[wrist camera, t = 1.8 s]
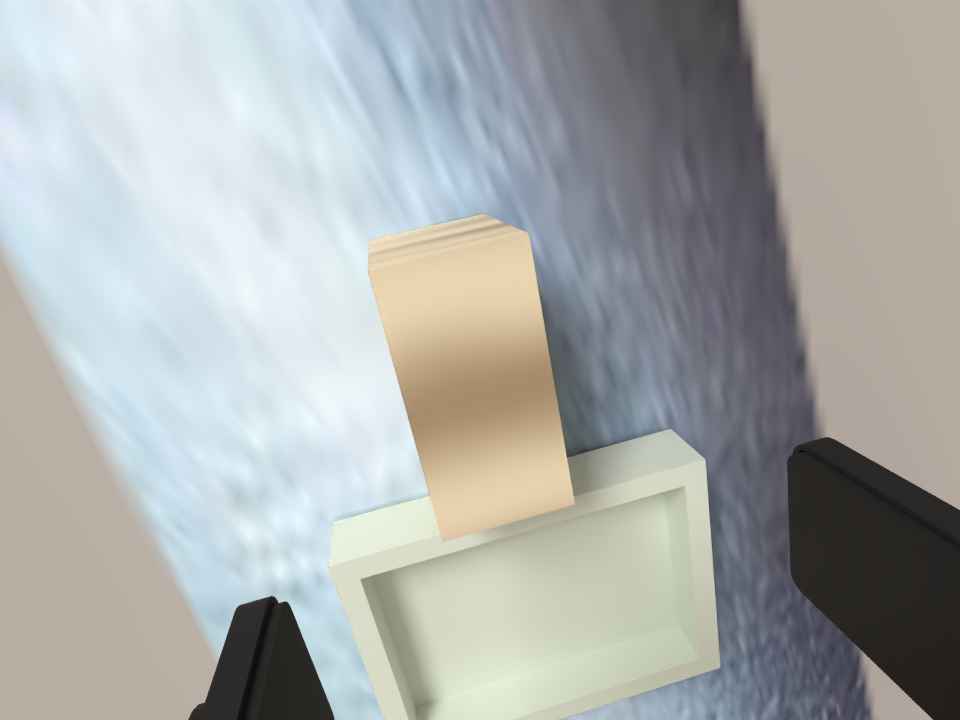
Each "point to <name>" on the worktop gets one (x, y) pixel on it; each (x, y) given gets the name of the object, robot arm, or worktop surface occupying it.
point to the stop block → (473, 370)
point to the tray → (539, 594)
